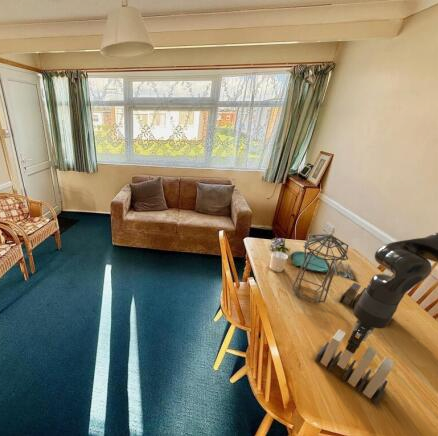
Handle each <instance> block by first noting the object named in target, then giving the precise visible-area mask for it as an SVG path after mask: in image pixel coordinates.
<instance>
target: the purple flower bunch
mask: <svg viewBox="0 0 438 436" xmlns="http://www.w3.org/2000/svg"><path fill="white" fill-rule="evenodd" d="M270 242H271V244H270V250H274V249H275V250H276V251H279V252H283V253H285V254H286V253H287V252H290V251H291V248H288V247H286V238H282V237H279V238H278V237H274V238H271V240H270Z"/></svg>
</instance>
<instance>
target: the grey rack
mask: <svg viewBox="0 0 438 436" xmlns="http://www.w3.org/2000/svg"><path fill="white" fill-rule="evenodd" d="M360 288H362V285H360V284H359V283H356V282H353V283H352V284H351V285H350V286H349V288H348V289H346V290H345V292H344V293H343V294H341V296H340V299H339V301H338V303H342V304H345V305H346V306H349V308H350V309H352V308H353V309H355V307H356V305H357V303H358V301H359V299H360V297H361V295H362V294H363V293H364V291H365V290H366V288H367V287H364V288H363V289H362V290H361V292H360ZM392 320H393V317H392V318H391V319H390V321H389V323H388V324H390V323H391V321H392Z"/></svg>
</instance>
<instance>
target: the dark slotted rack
mask: <svg viewBox="0 0 438 436" xmlns="http://www.w3.org/2000/svg"><path fill="white" fill-rule="evenodd" d="M346 334H347V333H346V332H345V331H343V330H341V329H340V328H339V329H338V330H337V331H336V332H335V334H334V335H333V336H332V338H331V339H330V342H329V341H327V342H326V343H325V345H324V346H323V347H322V348H321V349H320V351H319V352H317V355H316V357H315V360H314V362H316V363H318V361H319V360H320V359H321V360H320V361H319V362H320V364H322V365H323V366H324V367H328V366H329V367H328V368H327V371H328V372H331V370H332V369H333V368H334V367H335V365H336V364H337V363H338V361H339V360H340V358H341V356H342V354H343V351H342V350H339V348H340V346H341V344H342V342H343V340H344V338H345V336H346ZM338 350H339V352H338V353H337V351H338ZM377 352H378V351H377V350H375V349H373V348H372V347H371V346H368V347H367V349H366V350H365V352H364V353H363V355H362V357H361V359H360V360H359V362H358V363H357V360H356V359H353V360H352V362H351V364H350V365H349V367H348V368H347V370H346V371H345V373H344V375H343V377H342V378H341V382H345V380H346V379H347V377H348V375H349V374H350V373H351V370H352V369H353V367H354V366H355V364H356V363H357V365H356V367H355V368H354V370H353V371H352V373H351V374H350V376H349V378H348V379H347V381H346V382H347V383H348V384H349V385H351V386H352V387H353V388H355V387H356V386H357V384H358V383H359V381H360V380H361V378H362V377H363V378H362V380H361V382H360V383H359V385H358V387H357V388H356V392H357V393H360V392H361V390H362V389H363V387H364V385H365V384H366V385H365V387H364V389H363V391H362V394H363V395H364V396H366V397H367V398H369V399H372V398H373V396H374V395H375V394H376V395H375V396H374V399H373V400H372V404H373V405H376V404H377V403H378V402H379V400H380V399H381V397H382V395H383V393H384V391H385V389H386V387H387V384H388V380H387V379H386V378H387V377H388V375H389V374H390V372H391V370H392V368H393V366H394V363H395V361H394V360H392V359H391V358H389V357H387V356H384V358H383V359H382V361H381V363H380V364H379V365H378V367H377V368H376V369H375V372H373V374H372V376H371V377H370V379H369V376H370V374H371V372H372V370H371V369H368V368H369V366H370V365H371V364H372V361H373V359H374V358H375V356H376V354H377ZM336 353H337V354H336ZM330 362H331V363H330ZM329 364H330V365H329ZM367 369H368V370H367ZM365 372H366V373H365ZM368 379H369V380H368ZM367 380H368V382H367ZM366 382H367V383H366Z"/></svg>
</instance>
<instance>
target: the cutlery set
mask: <svg viewBox="0 0 438 436" xmlns="http://www.w3.org/2000/svg"><path fill="white" fill-rule="evenodd" d="M304 253H305V251H301V250H300V251H293V252H292V253H291V255H290V260H292V264H293V265H294V266H295V267H298V266H299V267H300V268H301V267H302V265H303V262H304ZM311 254H312V253H309V254H308V257H307V259H306V260H307V262H308V260H309V258H310V256H311ZM317 257H319V258H323V259H324V257H323V256H321V255H318V256H317ZM315 258H316V257H315V256H314V255H312V257H311V259H310V262H309V263H312V264H315V265H318V266H321V267H324V268H327V269H328V267H327V264H326V262H325V260H322V259H318V258H317V259H315ZM313 259H315V260H313ZM311 260H312V261H311ZM326 261H327V263H328V266H329V267H330V265H331V264H330V263H329V260H326ZM307 262H305V264H304V266H303V269H304V268H305V266H306V263H307ZM339 263H340V262H339ZM312 264H308V266H307V268H306V270H308V271H311V272H316V273H327V272H328V270H327V269H324V268H321V267H318V266H315V265H312ZM334 264H335V261H334V262H333V265H334ZM339 266H340V269H341V271H339V275H340V276H341V277H342V278H347V277H349V279H350V280H352V281H353V280H354V274H353V273H352V272H351V268H350V264H347V266H346V267H347V270H348V271H347V272H348V273H346V272H345V271H344V270H343V269H344V268H343V263H342V262H341V263H340V264H339ZM336 267H337V266H336ZM336 267H335V268H336ZM334 274H335V275H336V276H338V272H337V268H336V269H335V272H334Z"/></svg>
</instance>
